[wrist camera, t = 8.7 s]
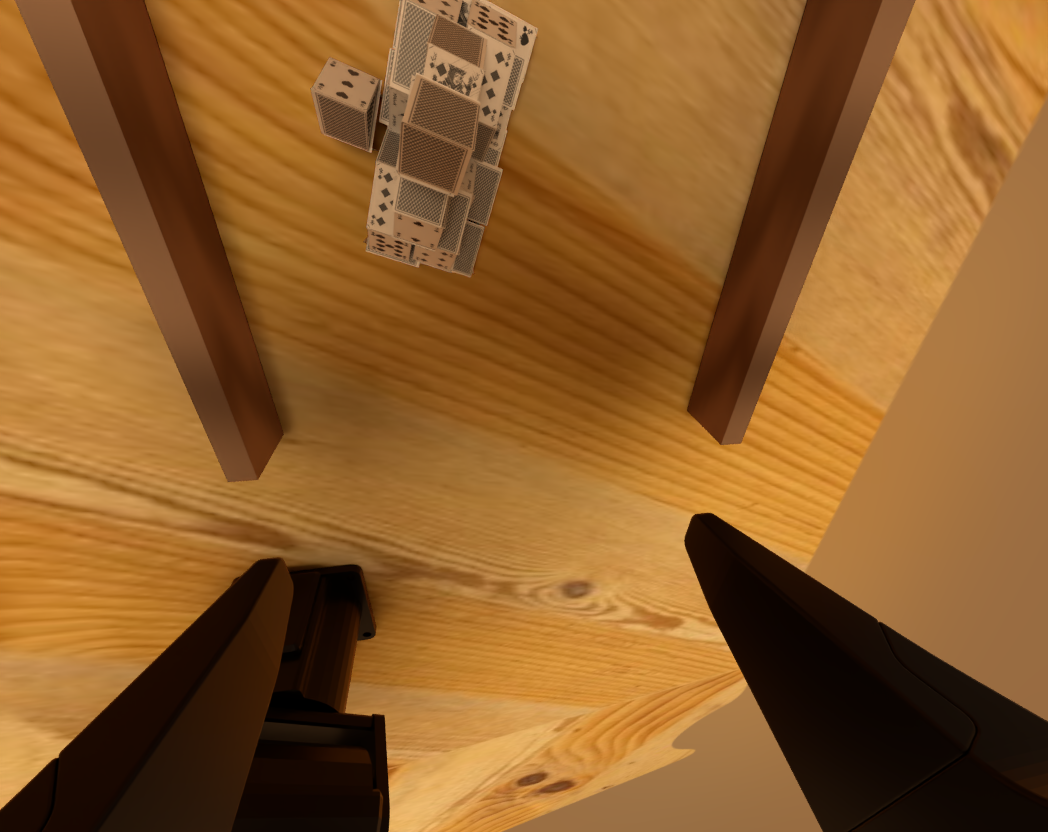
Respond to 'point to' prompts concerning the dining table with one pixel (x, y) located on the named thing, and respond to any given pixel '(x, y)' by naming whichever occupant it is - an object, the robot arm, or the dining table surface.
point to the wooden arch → (207, 283)
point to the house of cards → (432, 126)
